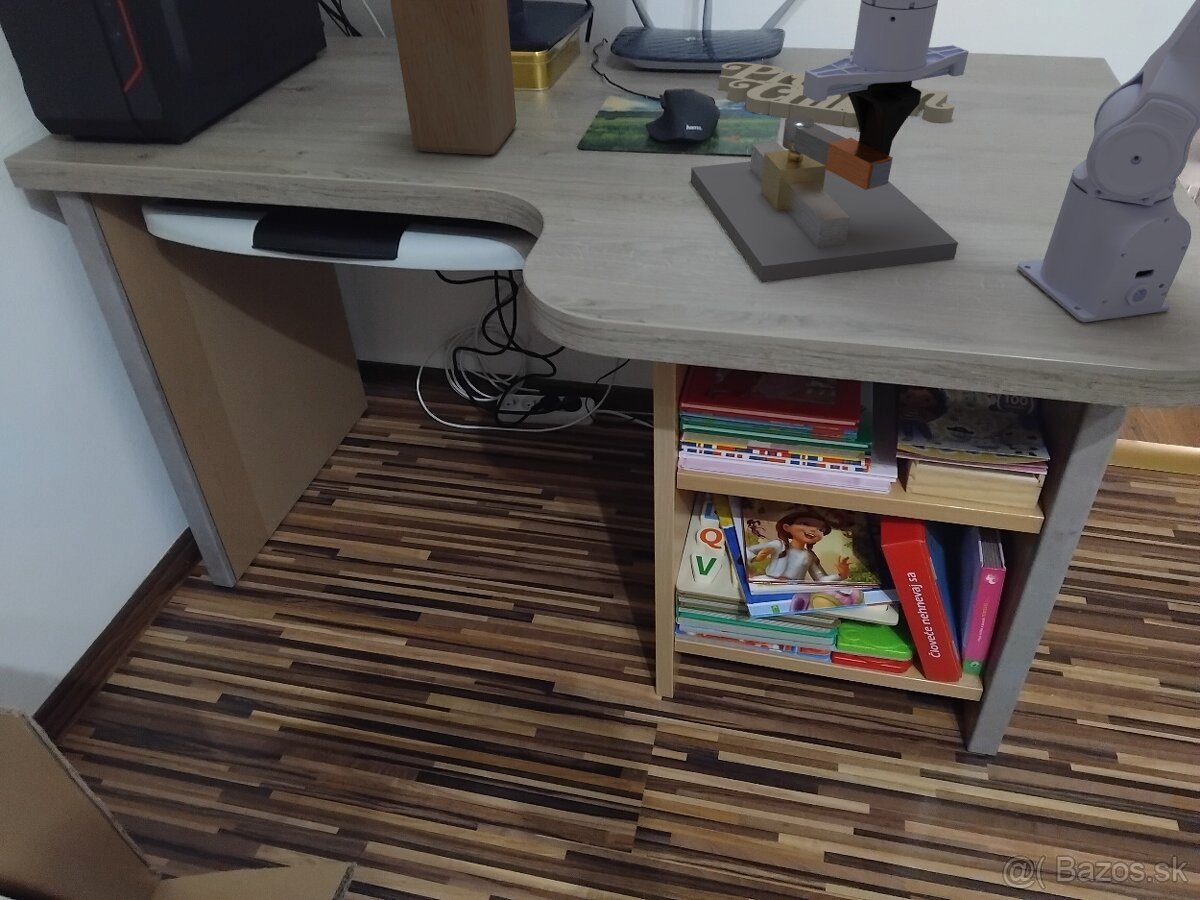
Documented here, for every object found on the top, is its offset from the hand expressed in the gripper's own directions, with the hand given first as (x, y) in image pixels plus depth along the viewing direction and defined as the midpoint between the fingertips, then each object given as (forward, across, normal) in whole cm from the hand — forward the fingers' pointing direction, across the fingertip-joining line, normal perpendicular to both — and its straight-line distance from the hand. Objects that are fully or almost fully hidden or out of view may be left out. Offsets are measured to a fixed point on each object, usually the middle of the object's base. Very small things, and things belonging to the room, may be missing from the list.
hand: (869, 171), depth 77 cm
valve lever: (0, +2, -3) cm, 4 cm away
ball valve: (+5, +3, -7) cm, 9 cm away
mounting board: (+7, +1, -6) cm, 9 cm away
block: (+7, +25, -41) cm, 49 cm away
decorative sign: (+7, -18, -33) cm, 38 cm away
